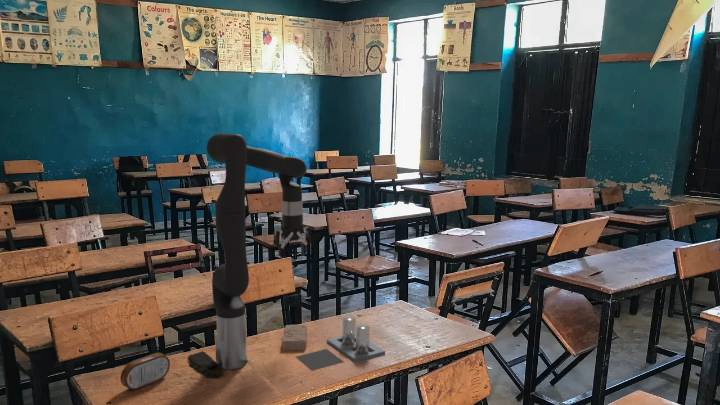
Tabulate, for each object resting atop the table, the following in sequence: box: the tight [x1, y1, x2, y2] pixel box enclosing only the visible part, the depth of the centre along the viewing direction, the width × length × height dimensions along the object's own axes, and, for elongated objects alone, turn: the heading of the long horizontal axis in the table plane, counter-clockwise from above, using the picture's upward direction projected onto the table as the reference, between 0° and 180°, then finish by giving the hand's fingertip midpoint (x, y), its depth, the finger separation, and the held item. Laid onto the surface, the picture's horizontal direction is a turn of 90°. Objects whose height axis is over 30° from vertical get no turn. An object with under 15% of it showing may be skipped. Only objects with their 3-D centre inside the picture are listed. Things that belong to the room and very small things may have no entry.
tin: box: [120, 352, 171, 390], centre depth 162 cm, size 15×3×8 cm, turn 142°
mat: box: [295, 348, 345, 372], centre depth 178 cm, size 12×12×1 cm
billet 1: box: [341, 316, 357, 346], centre depth 191 cm, size 5×5×10 cm
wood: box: [188, 350, 224, 379], centre depth 174 cm, size 22×7×3 cm, turn 37°
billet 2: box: [355, 324, 370, 355], centre depth 183 cm, size 5×5×10 cm
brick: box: [281, 323, 308, 351], centre depth 193 cm, size 17×8×5 cm, turn 5°
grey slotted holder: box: [326, 332, 386, 363], centre depth 187 cm, size 12×19×2 cm, turn 32°
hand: (292, 256), depth 197 cm, fingers open, 8 cm apart
